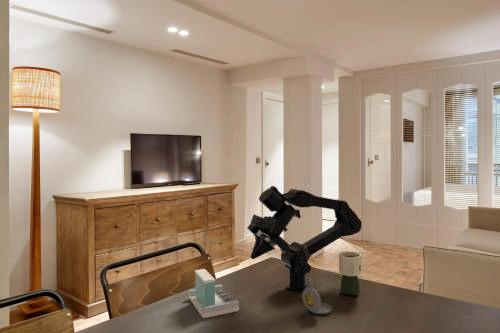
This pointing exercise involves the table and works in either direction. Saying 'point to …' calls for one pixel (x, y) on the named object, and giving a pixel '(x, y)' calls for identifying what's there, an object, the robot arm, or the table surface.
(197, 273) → the teal and cream panel
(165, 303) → the table surface
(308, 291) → the pocket watch
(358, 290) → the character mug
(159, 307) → the table surface
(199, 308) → the white slotted tray
